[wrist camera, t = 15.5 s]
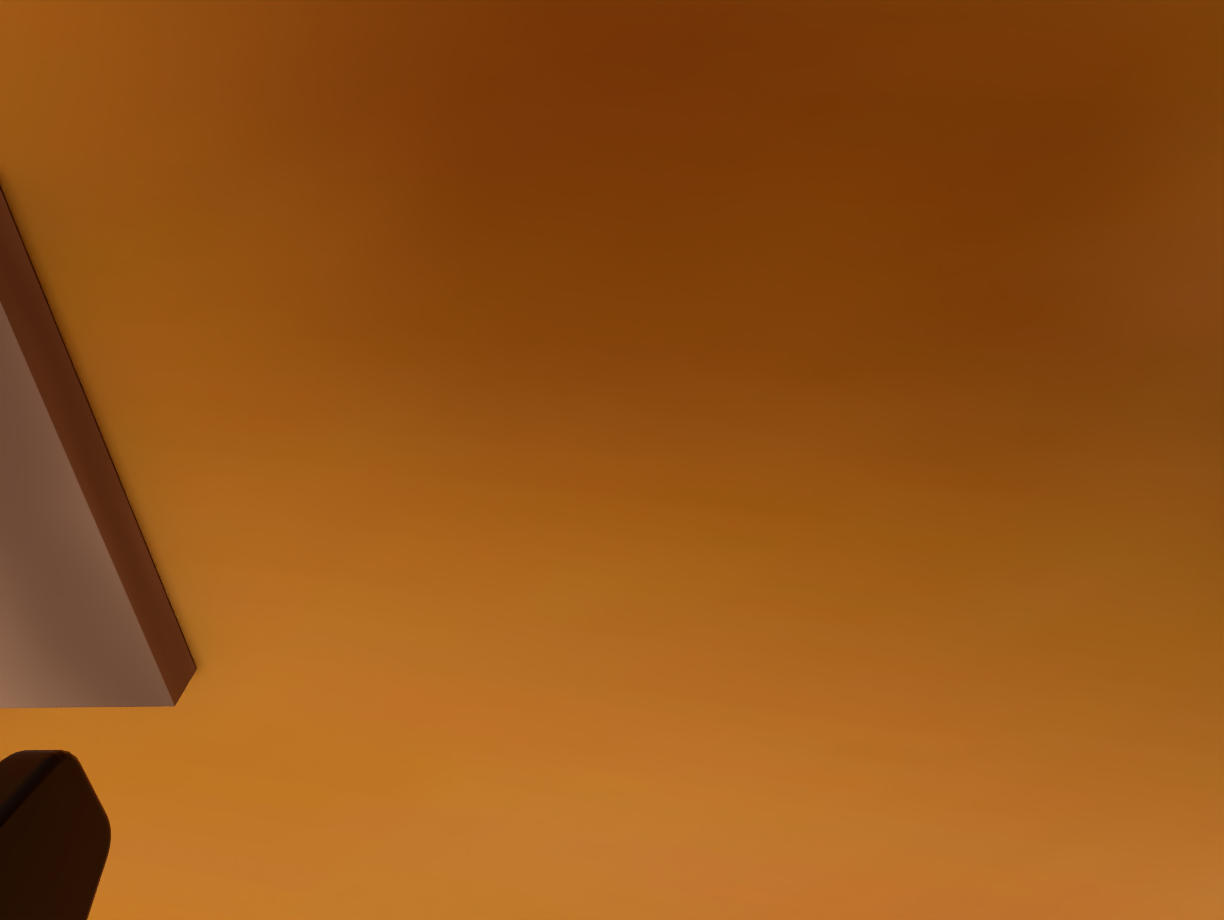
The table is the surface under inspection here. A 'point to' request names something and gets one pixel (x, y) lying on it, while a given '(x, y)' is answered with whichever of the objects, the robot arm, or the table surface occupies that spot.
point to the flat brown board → (68, 532)
